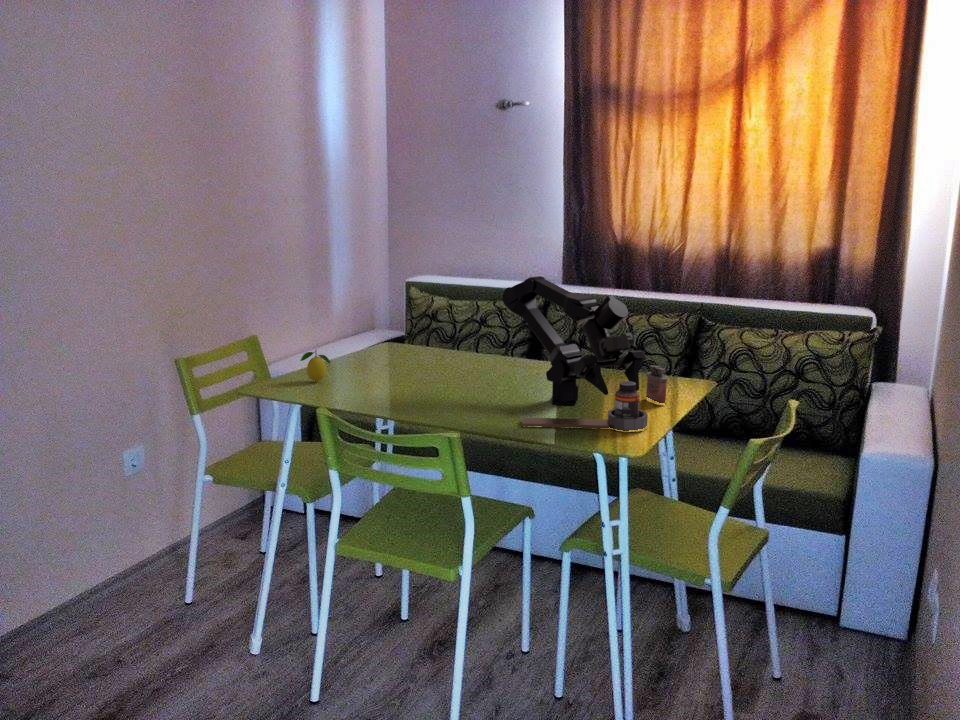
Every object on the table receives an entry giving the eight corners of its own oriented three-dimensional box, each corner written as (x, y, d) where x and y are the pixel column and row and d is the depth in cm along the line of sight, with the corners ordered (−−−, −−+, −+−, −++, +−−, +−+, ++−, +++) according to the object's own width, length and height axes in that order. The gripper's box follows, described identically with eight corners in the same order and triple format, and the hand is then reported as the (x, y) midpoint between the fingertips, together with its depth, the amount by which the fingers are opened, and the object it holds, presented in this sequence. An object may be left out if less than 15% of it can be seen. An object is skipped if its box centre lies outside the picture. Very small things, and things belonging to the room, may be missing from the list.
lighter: (642, 398, 254) (644, 363, 252) (653, 397, 255) (655, 362, 253) (657, 406, 247) (660, 370, 244) (668, 405, 248) (671, 369, 246)
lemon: (301, 383, 266) (299, 349, 264) (311, 378, 271) (309, 345, 269) (321, 385, 264) (320, 351, 262) (331, 380, 269) (330, 347, 267)
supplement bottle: (632, 422, 233) (634, 379, 230) (642, 429, 227) (644, 385, 225) (610, 424, 231) (612, 380, 229) (619, 431, 226) (621, 386, 223)
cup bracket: (521, 430, 226) (522, 416, 225) (522, 418, 235) (522, 405, 234) (648, 433, 224) (649, 419, 224) (644, 421, 234) (644, 408, 233)
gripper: (582, 325, 226) (605, 379, 219) (644, 319, 234) (668, 371, 227) (563, 349, 234) (585, 402, 228) (624, 343, 243) (647, 394, 236)
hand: (622, 392), depth 229 cm, fingers open, 9 cm apart
